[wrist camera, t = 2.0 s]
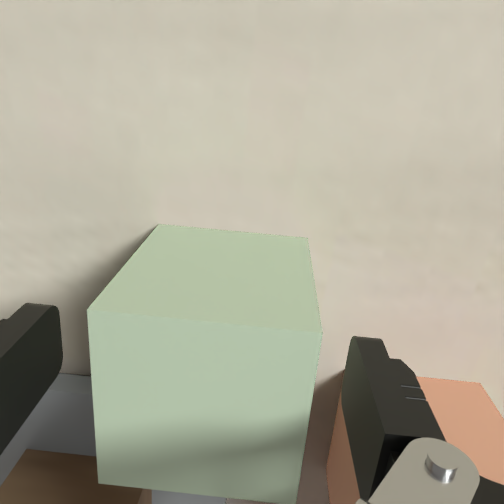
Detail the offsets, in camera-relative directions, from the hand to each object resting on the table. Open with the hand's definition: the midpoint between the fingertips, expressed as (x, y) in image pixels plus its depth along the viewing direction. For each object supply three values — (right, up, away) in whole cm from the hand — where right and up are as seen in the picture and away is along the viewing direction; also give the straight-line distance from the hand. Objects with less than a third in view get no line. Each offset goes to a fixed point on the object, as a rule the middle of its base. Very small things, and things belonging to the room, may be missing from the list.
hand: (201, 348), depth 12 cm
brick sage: (+1, +1, +4) cm, 4 cm away
